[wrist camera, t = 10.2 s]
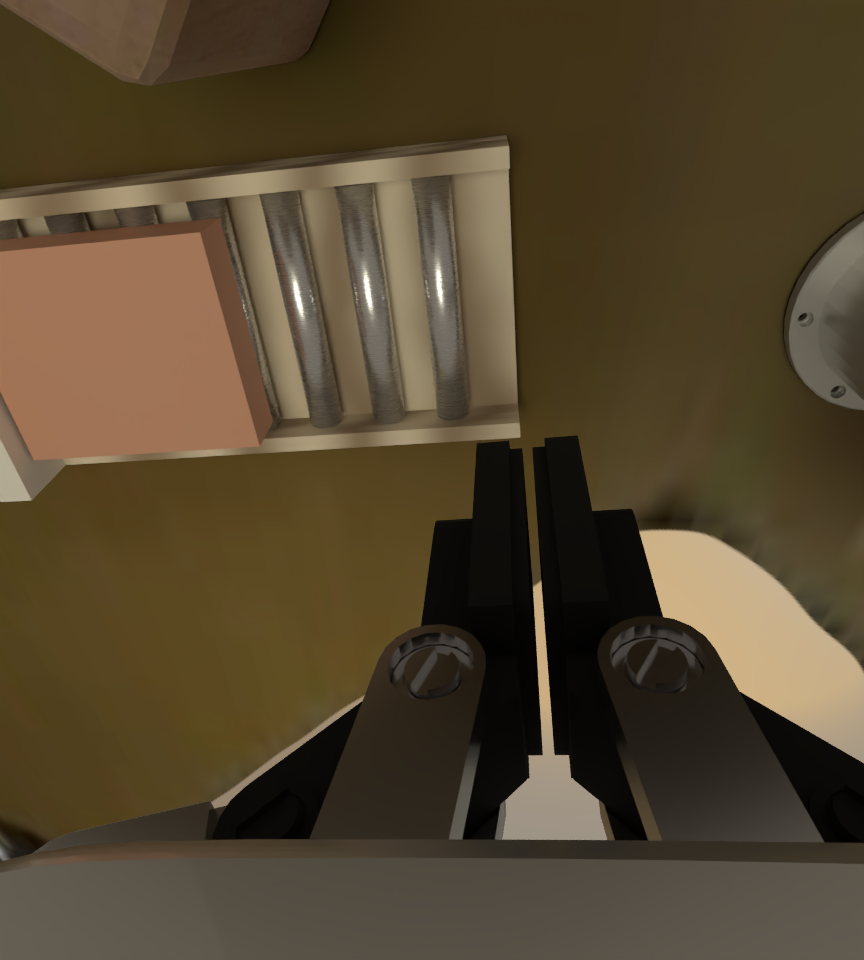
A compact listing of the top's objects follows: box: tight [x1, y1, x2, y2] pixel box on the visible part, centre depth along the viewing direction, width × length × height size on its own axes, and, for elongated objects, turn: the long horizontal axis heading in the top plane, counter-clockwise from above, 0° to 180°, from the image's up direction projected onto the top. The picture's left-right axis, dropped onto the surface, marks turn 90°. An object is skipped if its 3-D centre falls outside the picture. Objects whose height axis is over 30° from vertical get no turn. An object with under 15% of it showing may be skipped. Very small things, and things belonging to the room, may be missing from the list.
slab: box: [0, 218, 273, 460], centre depth 38 cm, size 14×12×3 cm
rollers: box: [0, 175, 470, 431], centre depth 40 cm, size 26×14×2 cm, turn 96°
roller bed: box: [0, 135, 520, 465], centre depth 40 cm, size 32×16×4 cm, turn 96°
